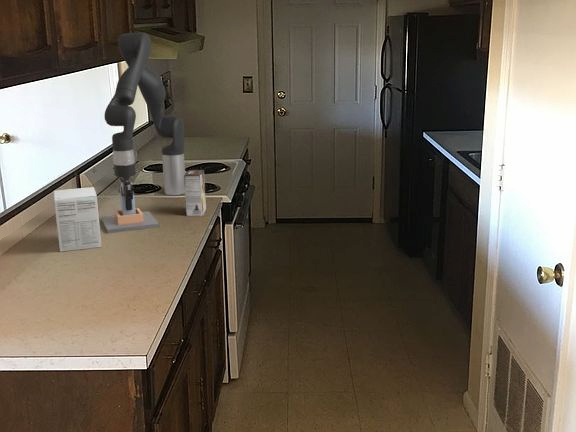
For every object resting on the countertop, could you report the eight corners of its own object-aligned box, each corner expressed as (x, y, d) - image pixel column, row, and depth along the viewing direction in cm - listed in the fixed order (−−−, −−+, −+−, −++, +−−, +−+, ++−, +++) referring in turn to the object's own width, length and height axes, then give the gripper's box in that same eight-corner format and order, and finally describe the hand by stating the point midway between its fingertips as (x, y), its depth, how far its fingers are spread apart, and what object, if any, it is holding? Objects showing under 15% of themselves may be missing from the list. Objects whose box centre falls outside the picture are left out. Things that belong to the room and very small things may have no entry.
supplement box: (102, 247, 211) (97, 195, 206) (59, 252, 207) (53, 199, 202) (99, 235, 223) (94, 186, 218) (58, 240, 219) (52, 190, 214)
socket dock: (100, 219, 242) (99, 209, 241) (149, 214, 248) (148, 203, 247) (107, 233, 226) (106, 221, 225) (158, 226, 233) (158, 215, 231)
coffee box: (190, 209, 254) (187, 169, 250) (206, 209, 254) (204, 169, 250) (186, 216, 245) (183, 174, 241) (203, 216, 245) (200, 174, 241)
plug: (121, 212, 237) (119, 191, 235) (133, 210, 239) (131, 189, 237) (123, 215, 233) (121, 193, 231) (135, 213, 235) (134, 192, 233)
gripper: (110, 159, 236) (114, 204, 241) (116, 166, 223) (120, 214, 228) (131, 157, 239) (135, 202, 243) (138, 165, 226) (142, 212, 231)
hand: (128, 208), depth 236 cm, fingers closed on plug, 4 cm apart
